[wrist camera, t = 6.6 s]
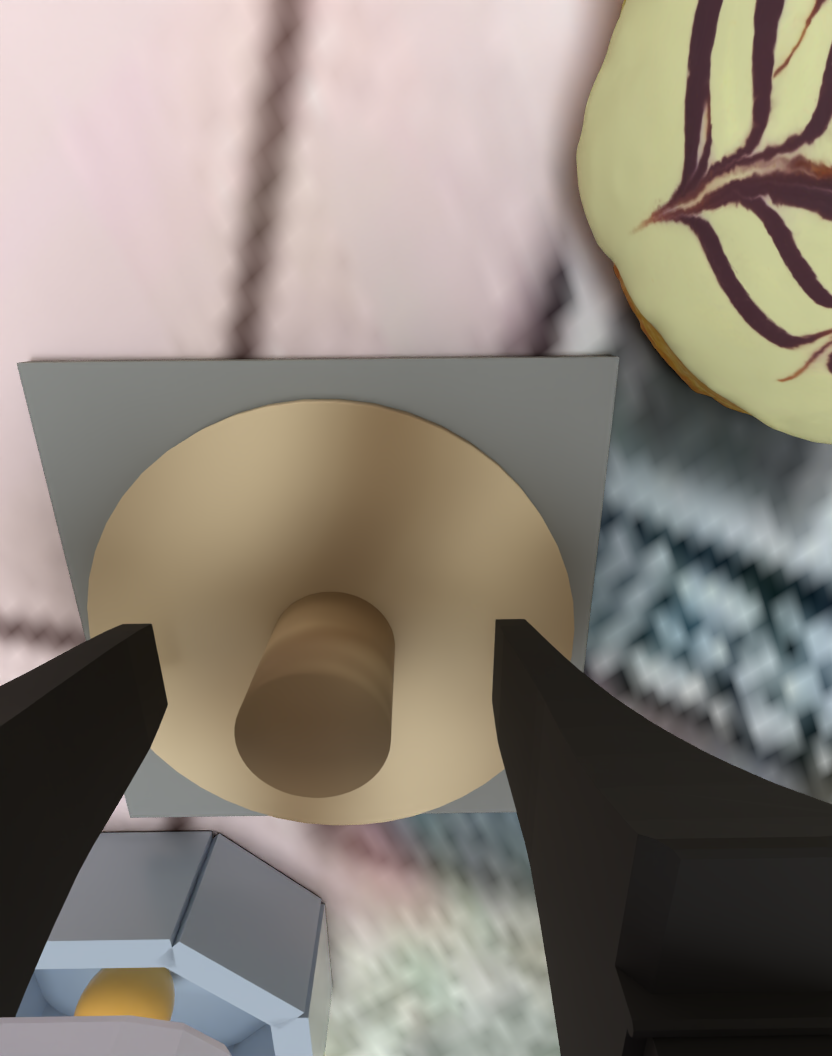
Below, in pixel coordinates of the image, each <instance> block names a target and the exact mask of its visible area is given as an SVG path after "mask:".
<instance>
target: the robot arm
mask: <svg viewBox="0 0 832 1056" xmlns="http://www.w3.org/2000/svg"><path fill="white" fill-rule="evenodd" d="M492 705H493V713H494V720H495V727H496V734H497V740H498V745H499V749H500V753H501V757H502V760H503V764H504V768H505V771H506V775H507V779H508V782H509V786H510V790H511V793H512V797H513V801H514V804H515V808H516V811H517V815H518V819H519V822H520V826H521V830H522V833H523V837H524V841H525V845H526V849H527V853H528V858H529V862H530V866H531V872H532V878H533V884H534V889H535V895H536V901H537V907H538V912H539V918H540V924H541V930H542V937H543V943H544V949H545V955H546V961H547V967H548V974H549V980H550V986H551V993H552V1000H553V1006H554V1013H555V1019H556V1026H557V1033H558V1039H559V1046H560V1053H561V1056H832V804H829V803H826V802H824V801H821V800H818V799H816V798H813V797H810V796H807V795H805V794H802V793H799V792H796V791H794V790H791V789H788V788H786V787H783V786H780V785H777V784H775V783H772V782H770V781H768V780H765V779H763V778H761V777H758V776H756V775H754V774H752V773H749V772H747V771H745V770H742V769H740V768H738V767H736V766H733V765H731V764H729V763H727V762H725V761H723V760H721V759H719V758H716V757H714V756H712V755H710V754H708V753H706V752H704V751H702V750H700V749H698V748H697V747H695V746H693V745H691V744H689V743H687V742H685V741H684V740H682V739H680V738H678V737H676V736H674V735H672V734H671V733H669V732H667V731H666V730H664V729H662V728H660V727H659V726H657V725H655V724H654V723H652V722H651V721H649V720H647V719H646V718H644V717H643V716H641V715H640V714H638V713H637V712H635V711H634V710H632V709H630V708H629V707H627V706H626V705H624V704H623V703H622V702H620V701H619V700H617V699H616V698H615V697H613V696H612V695H611V694H609V693H608V692H607V691H605V690H604V689H603V688H602V687H600V686H599V685H598V684H596V683H595V682H594V681H592V680H591V679H590V678H589V677H588V676H586V675H585V674H584V673H583V672H582V671H580V670H579V669H578V668H577V667H576V666H574V665H573V664H572V663H571V662H570V661H569V660H568V659H567V658H565V657H564V656H563V655H562V654H561V653H560V652H559V651H558V650H557V649H556V648H555V647H554V646H552V645H551V644H550V643H549V642H548V641H547V640H546V639H545V638H544V637H543V636H542V635H541V634H540V633H539V632H538V631H537V630H536V629H535V628H534V627H533V626H532V625H531V624H530V623H529V622H527V621H526V620H525V619H496V621H495V643H494V664H493V685H492ZM167 706H168V702H167V697H166V692H165V686H164V681H163V676H162V671H161V666H160V661H159V656H158V651H157V646H156V641H155V636H154V631H153V626H152V624H121V625H119V626H116V627H114V628H112V629H109V630H107V631H105V632H103V633H101V634H99V635H97V636H95V637H93V638H91V639H89V640H87V641H85V642H84V643H82V644H80V645H78V646H76V647H74V648H72V649H70V650H69V651H67V652H65V653H63V654H61V655H59V656H57V657H56V658H54V659H52V660H50V661H48V662H46V663H44V664H42V665H41V666H39V667H37V668H35V669H33V670H31V671H29V672H27V673H26V674H24V675H22V676H20V677H18V678H16V679H14V680H12V681H10V682H8V683H6V684H4V685H2V686H0V1056H232V1055H231V1054H230V1052H229V1050H228V1049H227V1047H226V1046H225V1045H224V1044H222V1043H221V1042H219V1041H217V1040H215V1039H213V1038H211V1037H209V1036H207V1035H205V1034H203V1033H201V1032H200V1031H198V1030H196V1029H194V1028H192V1027H190V1026H188V1025H186V1024H184V1023H180V1022H173V1021H166V1020H159V1019H152V1018H145V1017H138V1016H131V1015H124V1016H62V1017H16V1014H17V1012H18V1009H19V1007H20V1004H21V1002H22V999H23V997H24V994H25V992H26V989H27V987H28V984H29V982H30V980H31V977H32V975H33V973H34V971H35V968H36V966H37V964H38V961H39V959H40V957H41V954H42V952H43V950H44V947H45V945H46V943H47V940H48V938H49V936H50V934H51V931H52V929H53V927H54V924H55V922H56V920H57V918H58V916H59V914H60V912H61V909H62V907H63V905H64V903H65V901H66V899H67V897H68V894H69V892H70V890H71V888H72V886H73V884H74V881H75V879H76V877H77V875H78V873H79V871H80V869H81V867H82V866H83V864H84V862H85V860H86V858H87V856H88V854H89V852H90V851H91V849H92V847H93V845H94V844H95V842H96V840H97V839H98V837H99V835H100V833H101V832H102V830H103V828H104V827H105V825H106V823H107V822H108V820H109V818H110V817H111V815H112V813H113V811H114V810H115V808H116V806H117V805H118V803H119V801H120V800H121V798H122V796H123V795H124V793H125V791H126V789H127V788H128V786H129V784H130V783H131V781H132V779H133V777H134V776H135V774H136V772H137V771H138V769H139V767H140V765H141V764H142V762H143V760H144V758H145V757H146V755H147V753H148V751H149V749H150V748H151V745H152V743H153V741H154V738H155V736H156V734H157V731H158V729H159V727H160V724H161V721H162V719H163V716H164V714H165V711H166V709H167Z"/></svg>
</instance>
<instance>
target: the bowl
mask: <svg viewBox="0 0 832 1056" xmlns="http://www.w3.org/2000/svg"><path fill="white" fill-rule="evenodd" d="M331 995H332V975H331V965H330V954H329V944H328V933H327V922H326V912H325V904H321V899H320V898H319V897H317V896H316V895H314V894H313V893H311V892H310V891H308V890H306V889H305V888H303V887H302V886H300V885H299V884H297V883H296V882H294V881H292V880H291V879H289V878H288V877H286V876H285V875H283V874H282V873H280V872H278V871H277V870H275V869H274V868H272V867H271V866H269V865H268V864H266V863H264V862H263V861H261V860H260V859H258V858H257V857H255V856H254V855H252V854H250V853H249V852H247V851H246V850H244V849H243V848H241V847H239V846H238V845H236V844H235V843H233V842H232V841H230V840H229V839H227V838H225V837H224V836H222V835H221V834H218V835H217V836H215V837H214V838H213V837H212V832H211V831H194V832H125V833H100V835H99V837H98V839H97V840H96V842H95V844H94V845H93V847H92V849H91V851H90V852H89V854H88V856H87V858H86V860H85V862H84V864H83V866H82V867H81V869H80V871H79V873H78V875H77V877H76V879H75V881H74V884H73V886H72V888H71V890H70V892H69V894H68V897H67V899H66V901H65V903H64V905H63V907H62V909H61V912H60V914H59V916H58V918H57V920H56V922H55V924H54V927H53V929H52V931H51V934H50V936H49V938H48V940H47V943H46V945H45V947H44V950H43V952H42V954H41V957H40V959H39V961H38V964H37V966H36V968H35V971H34V973H33V975H32V977H31V980H30V982H29V984H28V987H27V989H26V992H25V994H24V997H23V999H22V1002H21V1004H20V1007H19V1009H18V1012H17V1014H16V1017H62V1016H124V1015H131V1016H138V1017H145V1018H152V1019H159V1020H166V1021H173V1022H180V1023H184V1024H186V1025H188V1026H190V1027H192V1028H194V1029H196V1030H198V1031H200V1032H201V1033H203V1034H205V1035H207V1036H209V1037H211V1038H213V1039H215V1040H217V1041H219V1042H221V1043H222V1044H224V1045H225V1046H226V1047H227V1049H228V1050H229V1052H230V1054H231V1055H232V1056H325V1047H326V1038H327V1030H328V1021H329V1012H330V1004H331Z"/></svg>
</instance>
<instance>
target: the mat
mask: <svg viewBox="0 0 832 1056" xmlns="http://www.w3.org/2000/svg"><path fill="white" fill-rule="evenodd" d="M17 366H18V370H19V374H20V378H21V382H22V386H23V390H24V394H25V398H26V402H27V406H28V410H29V414H30V418H31V422H32V426H33V430H34V434H35V438H36V442H37V446H38V450H39V454H40V458H41V462H42V466H43V470H44V474H45V478H46V482H47V486H48V490H49V494H50V498H51V502H52V506H53V510H54V514H55V518H56V522H57V526H58V530H59V534H60V538H61V542H62V546H63V550H64V554H65V558H66V562H67V566H68V570H69V574H70V578H71V582H72V586H73V590H74V594H75V598H76V602H77V606H78V610H79V614H80V618H81V622H82V626H83V630H84V634H85V638H86V641H87V640H89V639H91V638H90V632H89V622H88V611H87V602H88V586H89V576H90V572H91V568H92V563H93V559H94V554H95V550H96V548H97V545H98V543H99V540H100V538H101V535H102V533H103V530H104V528H105V525H106V523H107V521H108V519H109V518H110V516H111V514H112V513H113V511H114V510H115V508H116V506H117V505H118V503H119V501H120V500H121V498H122V496H123V495H124V494H125V493H126V492H127V490H128V489H129V488H130V487H131V486H132V485H133V483H134V482H135V481H136V480H137V479H138V477H139V476H140V475H141V474H142V473H143V472H144V471H145V470H146V469H147V468H148V467H150V466H151V465H152V464H153V463H154V462H155V461H157V460H158V459H159V458H160V457H161V456H162V455H163V454H165V453H166V452H167V451H168V450H170V449H171V448H173V447H175V446H176V445H178V444H179V443H181V442H182V441H184V440H186V439H187V438H189V437H190V436H192V435H194V434H195V433H197V432H199V431H200V430H202V429H204V428H206V427H208V426H210V425H212V424H214V423H217V422H219V421H221V420H223V419H226V418H228V417H230V416H232V415H235V414H237V413H240V412H244V411H247V410H251V409H254V408H258V407H261V406H265V405H268V404H274V403H281V402H288V401H295V400H302V399H344V400H352V401H360V402H368V403H375V404H379V405H383V406H387V407H391V408H394V409H398V410H402V411H406V412H409V413H412V414H414V415H417V416H419V417H422V418H424V419H426V420H429V421H431V422H434V423H436V424H439V425H441V426H443V427H445V428H446V429H448V430H450V431H452V432H453V433H455V434H457V435H459V436H460V437H462V438H464V439H466V440H467V441H469V442H471V443H472V444H473V445H475V446H476V447H477V448H478V449H480V450H481V451H482V452H484V453H485V454H486V455H488V456H489V457H490V458H491V459H493V460H494V461H495V462H497V463H498V464H499V465H500V466H501V467H502V468H503V469H504V470H505V472H506V473H507V474H508V475H509V476H510V477H511V478H512V479H513V480H514V481H515V482H516V483H517V484H518V485H519V486H520V487H521V489H522V490H523V491H524V493H525V494H526V495H527V497H528V498H529V499H530V501H531V502H532V503H533V505H534V506H535V507H536V509H537V510H538V512H539V513H540V515H541V516H542V518H543V520H544V522H545V523H546V525H547V527H548V529H549V531H550V533H551V535H552V536H553V538H554V540H555V542H556V544H557V546H558V548H559V551H560V554H561V557H562V560H563V562H564V565H565V568H566V571H567V573H568V578H569V583H570V588H571V593H572V598H573V608H574V638H573V648H572V657H571V661H570V662H571V663H572V664H573V665H574V666H576V667H577V668H578V669H579V670H580V671H582V672H584V663H585V654H586V645H587V637H588V628H589V619H590V610H591V602H592V593H593V584H594V576H595V567H596V558H597V549H598V541H599V532H600V523H601V514H602V506H603V497H604V488H605V479H606V471H607V462H608V453H609V444H610V436H611V427H612V418H613V409H614V401H615V392H616V383H617V374H618V366H619V357H616V356H532V357H429V358H326V359H223V360H120V361H28V362H21V363H17ZM124 794H125V798H126V802H127V806H128V810H129V814H130V818H139V817H209V816H269V815H266V814H262V813H259V812H255V811H252V810H249V809H246V808H244V807H241V806H239V805H236V804H234V803H231V802H229V801H226V800H224V799H222V798H220V797H218V796H216V795H215V794H213V793H211V792H209V791H207V790H205V789H203V788H201V787H199V786H198V785H196V784H195V783H193V782H192V781H190V780H189V779H187V778H186V777H184V776H183V775H181V774H180V773H178V772H177V771H176V770H174V769H173V768H172V767H171V766H170V765H168V764H167V763H166V762H165V761H164V760H162V759H161V758H160V757H159V756H158V755H156V754H155V753H154V751H153V750H152V749H151V748H150V749H149V751H148V753H147V755H146V757H145V758H144V760H143V762H142V764H141V765H140V767H139V769H138V771H137V772H136V774H135V776H134V777H133V779H132V781H131V783H130V784H129V786H128V788H127V789H126V791H125V793H124ZM489 812H517V811H516V808H515V804H514V801H513V797H512V793H511V790H510V786H509V782H508V779H507V775H506V771H505V769H504V770H502V771H501V772H500V773H498V774H497V775H496V776H495V777H493V778H492V779H491V780H489V781H488V782H487V783H485V784H484V785H482V786H480V787H479V788H477V789H475V790H473V791H472V792H470V793H468V794H467V795H465V796H463V797H461V798H459V799H457V800H455V801H452V802H450V803H448V804H446V805H443V806H441V807H439V808H436V809H433V810H430V811H427V812H424V813H489Z"/></svg>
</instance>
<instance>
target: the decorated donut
mask: <svg viewBox="0 0 832 1056" xmlns="http://www.w3.org/2000/svg"><path fill="white" fill-rule="evenodd" d="M576 162H577V177H578V186H579V193H580V198H581V201H582V205H583V209H584V212H585V215H586V218H587V221H588V223H589V226H590V228H591V230H592V233H593V235H594V238H595V240H596V242H597V244H598V246H599V247H600V248H601V249H602V251H603V252H604V253H605V254H606V255H607V256H608V257H609V258H610V259H611V260H612V262H613V263H614V267H613V269H614V272H615V275H616V277H617V278H618V280H619V281H620V283H621V288H622V290H623V292H624V294H625V296H626V299H627V301H628V303H629V305H630V307H631V309H632V311H633V312H634V313H635V315H636V317H637V318H638V320H639V321H640V327H641V329H642V331H643V332H644V333H645V334H646V336H647V337H648V339H649V340H650V341H651V343H652V345H653V347H654V348H655V349H656V350H657V351H658V352H659V354H660V355H661V357H662V358H664V360H665V361H666V362H667V363H668V365H669V366H670V367H672V368H673V370H674V371H675V372H676V373H677V374H678V375H679V376H680V378H681V379H682V380H683V381H685V382H686V384H688V385H689V387H690V388H691V389H692V390H693V391H695V392H697V393H700V394H704V395H707V396H710V397H713V398H714V400H716V401H718V402H719V403H721V404H722V405H724V406H725V407H727V408H730V409H733V410H736V411H739V412H742V413H747V414H749V415H752V416H754V417H755V418H757V419H758V420H760V421H761V422H763V423H764V424H766V425H767V426H769V427H771V428H773V429H775V430H778V431H781V432H784V433H786V434H789V435H792V436H795V437H799V438H802V439H805V440H808V441H812V442H818V443H826V444H832V0H624V1H623V4H622V9H621V13H620V17H619V19H618V21H617V24H616V26H615V29H614V32H613V34H612V37H611V40H610V43H609V47H608V50H607V54H606V57H605V60H604V62H603V64H602V67H601V69H600V71H599V73H598V75H597V78H596V80H595V82H594V85H593V87H592V89H591V92H590V95H589V98H588V101H587V104H586V108H585V114H584V122H583V128H582V132H581V136H580V140H579V143H578V147H577V152H576Z"/></svg>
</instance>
